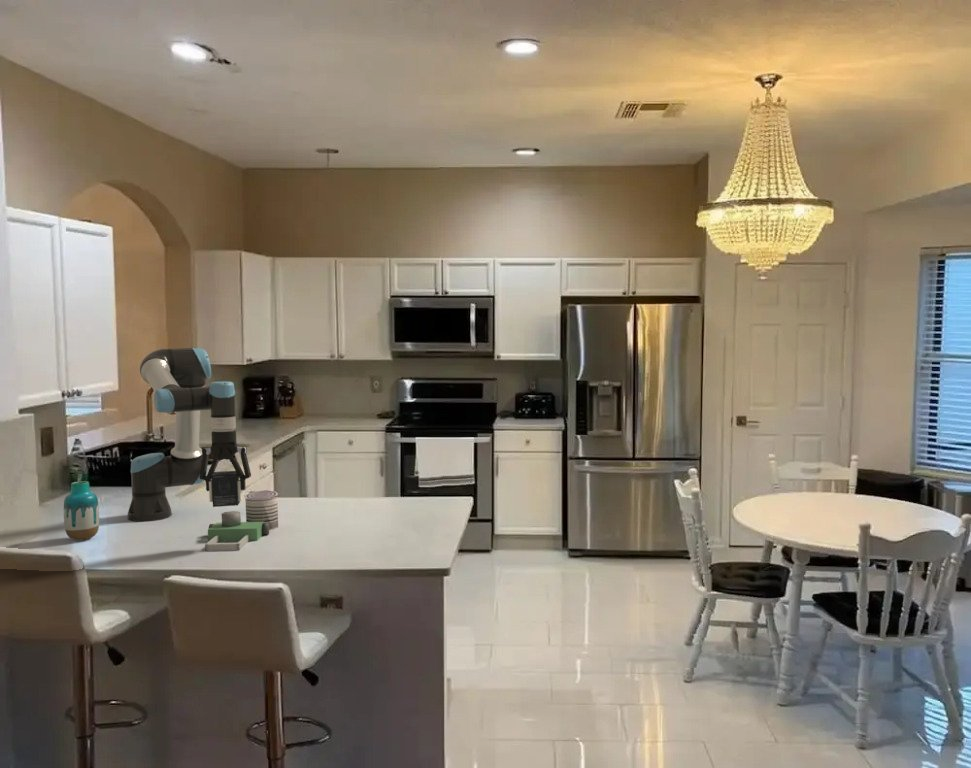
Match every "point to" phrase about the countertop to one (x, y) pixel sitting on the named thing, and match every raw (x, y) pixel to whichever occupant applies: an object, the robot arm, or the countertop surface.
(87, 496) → the vase
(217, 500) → the box
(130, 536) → the countertop surface
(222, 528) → the green tray fixture
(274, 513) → the can
